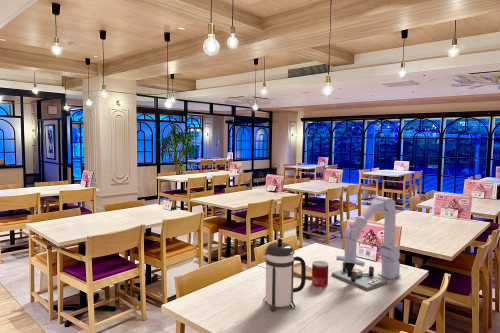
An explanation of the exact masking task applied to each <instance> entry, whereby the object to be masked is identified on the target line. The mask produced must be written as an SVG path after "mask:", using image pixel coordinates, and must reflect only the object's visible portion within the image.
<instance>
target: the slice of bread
mask: <svg viewBox="0 0 500 333" xmlns="http://www.w3.org/2000/svg"><path fill="white" fill-rule="evenodd" d="M293 277H297V278H300V279H301V262H295V263H294V264H293ZM306 280H309V281H310V280H311V281H312V267H310V266H308V265H306Z"/></svg>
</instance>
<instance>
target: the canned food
mask: <svg viewBox="0 0 500 333" xmlns="http://www.w3.org/2000/svg"><path fill="white" fill-rule="evenodd" d="M311 268H312V280H311V284H312V285H313V286H314V287H317V288H326V287H328V283H329V262H326V261H324V260H315V261H312V263H311Z"/></svg>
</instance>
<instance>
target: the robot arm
mask: <svg viewBox="0 0 500 333" xmlns="http://www.w3.org/2000/svg"><path fill="white" fill-rule="evenodd" d="M370 202H371V203H370V205H369V206H368V207H367V209H366V210H364V212H363V214H362V215H360V216H357V217H356V218H355V220H354V221H353V222H352V223H351V224H350V225H349V226H346V227H345V228H344V229H343V232H342V236H343V237H344V239H343V240H344V256H342V255H337V256H336V257H335V258H336V261H342V262H346V263H345V264H344V265H345V267H346V269H347V272H348V274H347V276H348V277H351V271H352V270H353V268H355V266H356V265H357V266H360V267H365V266H366V264H365V263H366V262H365V261H363V260H359V259H358V258H357V243H358V242H357V240H358V239H359V238H360V236H361V235H360V234H361V233H362V231H363V230H364V228H365V227H366V226H367V225H368V221H369V219H370V218H372V217H373V216H374V215H375V214H376V213H377V212H383V213H384V225H383V228H384V229H383V242H381V243H380V247H379V250H378V255H380V258H381V272H378V273H377V275H379V276H381V277H384V278H387V279H389V280H393V279H395V278H398V277H400V276H401V274H400V267H401V264H400V257H401V253H400V247H399V246H398V245H397V243H396V218H397V217H396V215H397V214H396V213H397V212H396V211H397V210H396V201H395V200H394V199H393V198H391V197H385V196H381V195H375V196H374V197H373V198H372V199H371V201H370Z"/></svg>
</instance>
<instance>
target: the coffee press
mask: <svg viewBox="0 0 500 333" xmlns="http://www.w3.org/2000/svg"><path fill="white" fill-rule="evenodd" d="M294 255H295V249H294V247H293V246H292V245H291V244H289V243H287V242H283V239H282V238H280V237H279V238H277V241H276V242H271V243H269V244H268V245H267V246H266V248H265V249H264V253H263V256H262V258H263V259H265V296H264V298H263V299H262V300H263V302H264V303H267V304H269V305H270V306H271V307H270V311H271V312H274V313H275V312H276V308H284V307H288V306H289V307H290V308H291V309H292V310H294V309H295V307H296V304H295V303H294V293H298V292H301V291H302V290H303V289H304V287H305V286H306V280H307V279H306V266H307V265H306V260H304V259H303V257H301V256H294ZM294 262H299V263H301V278H300V284H299V286H297V287H294V275H293V264H295V263H294Z"/></svg>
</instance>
